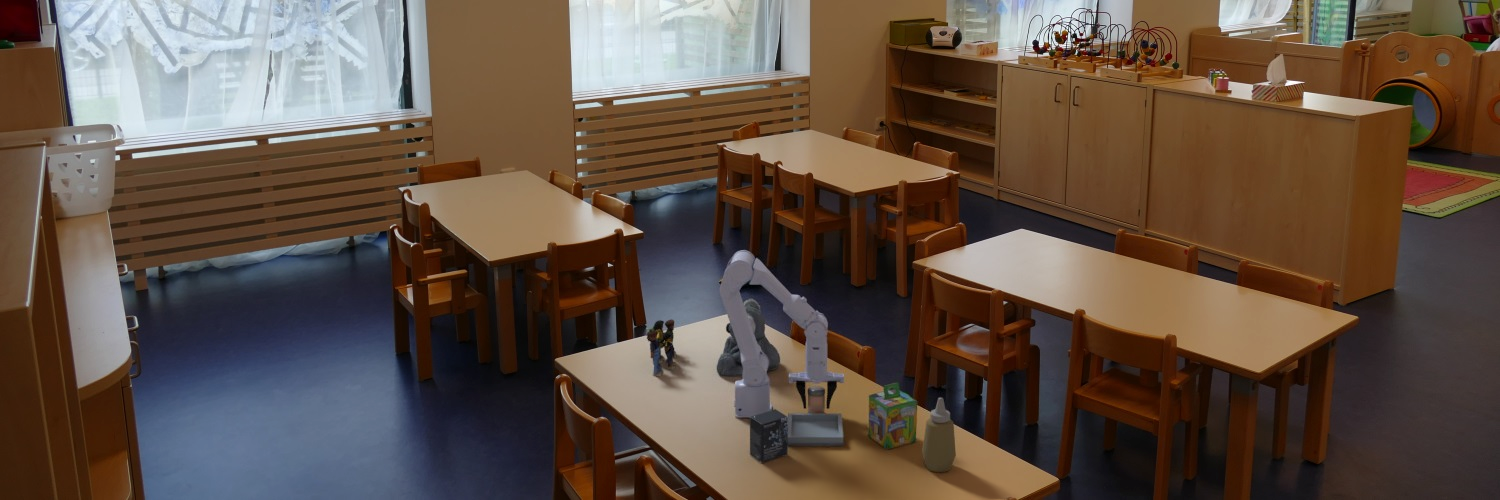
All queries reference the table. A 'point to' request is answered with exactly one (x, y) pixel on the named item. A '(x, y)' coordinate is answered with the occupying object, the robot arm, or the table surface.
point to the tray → (815, 429)
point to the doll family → (661, 345)
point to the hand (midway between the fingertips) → (816, 407)
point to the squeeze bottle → (939, 440)
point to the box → (768, 435)
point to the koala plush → (731, 353)
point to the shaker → (816, 399)
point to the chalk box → (892, 417)
